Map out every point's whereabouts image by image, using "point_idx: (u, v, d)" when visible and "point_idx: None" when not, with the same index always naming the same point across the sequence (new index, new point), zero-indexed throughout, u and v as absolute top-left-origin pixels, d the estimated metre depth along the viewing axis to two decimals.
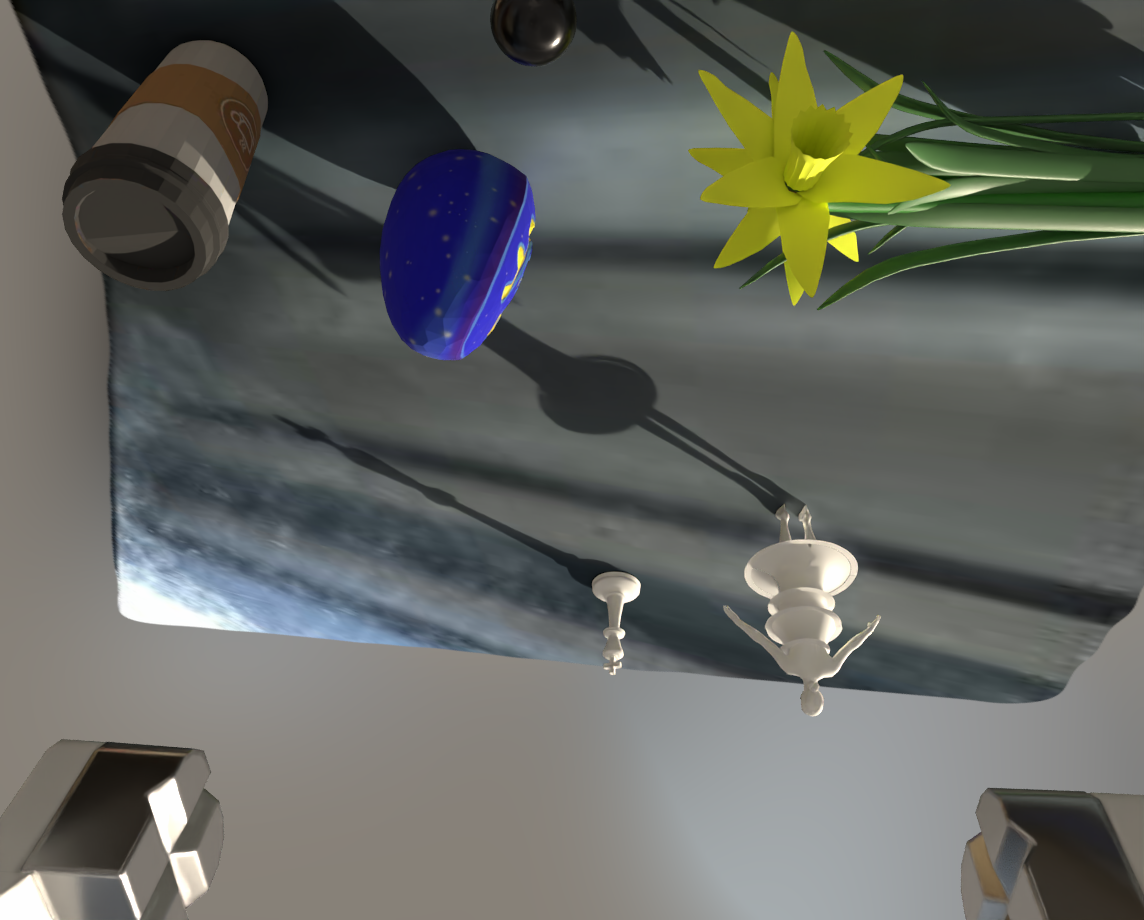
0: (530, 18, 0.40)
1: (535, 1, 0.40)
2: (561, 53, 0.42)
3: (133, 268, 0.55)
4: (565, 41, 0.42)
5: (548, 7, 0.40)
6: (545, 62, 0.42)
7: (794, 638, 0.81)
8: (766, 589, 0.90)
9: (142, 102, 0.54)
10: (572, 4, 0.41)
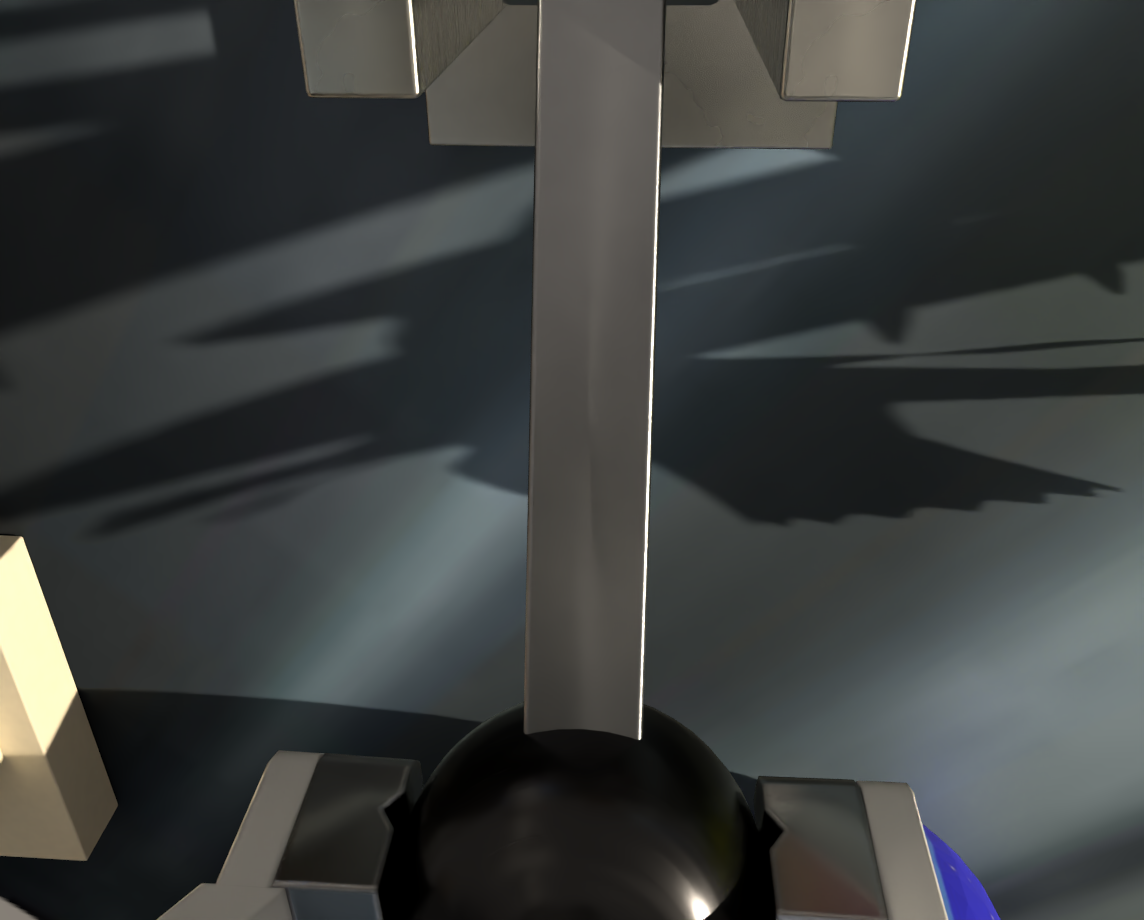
0: None
1: (491, 904, 0.08)
2: None
3: None
4: None
5: (556, 896, 0.08)
6: None
7: None
8: None
9: None
10: (674, 771, 0.09)
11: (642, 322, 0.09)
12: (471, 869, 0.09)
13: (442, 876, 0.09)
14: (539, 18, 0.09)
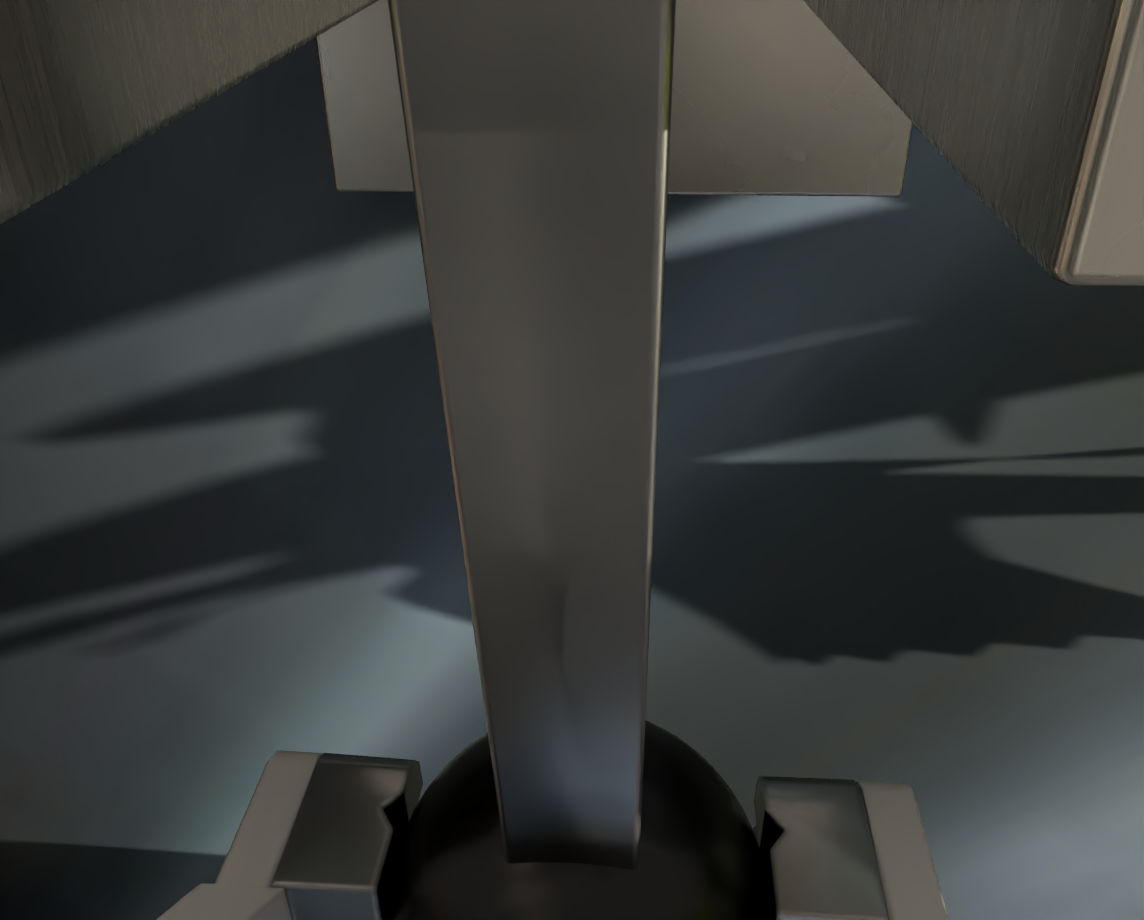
0: None
1: None
2: None
3: None
4: None
5: None
6: None
7: None
8: None
9: None
10: (673, 905, 0.08)
11: (631, 548, 0.06)
12: None
13: None
14: (404, 99, 0.04)
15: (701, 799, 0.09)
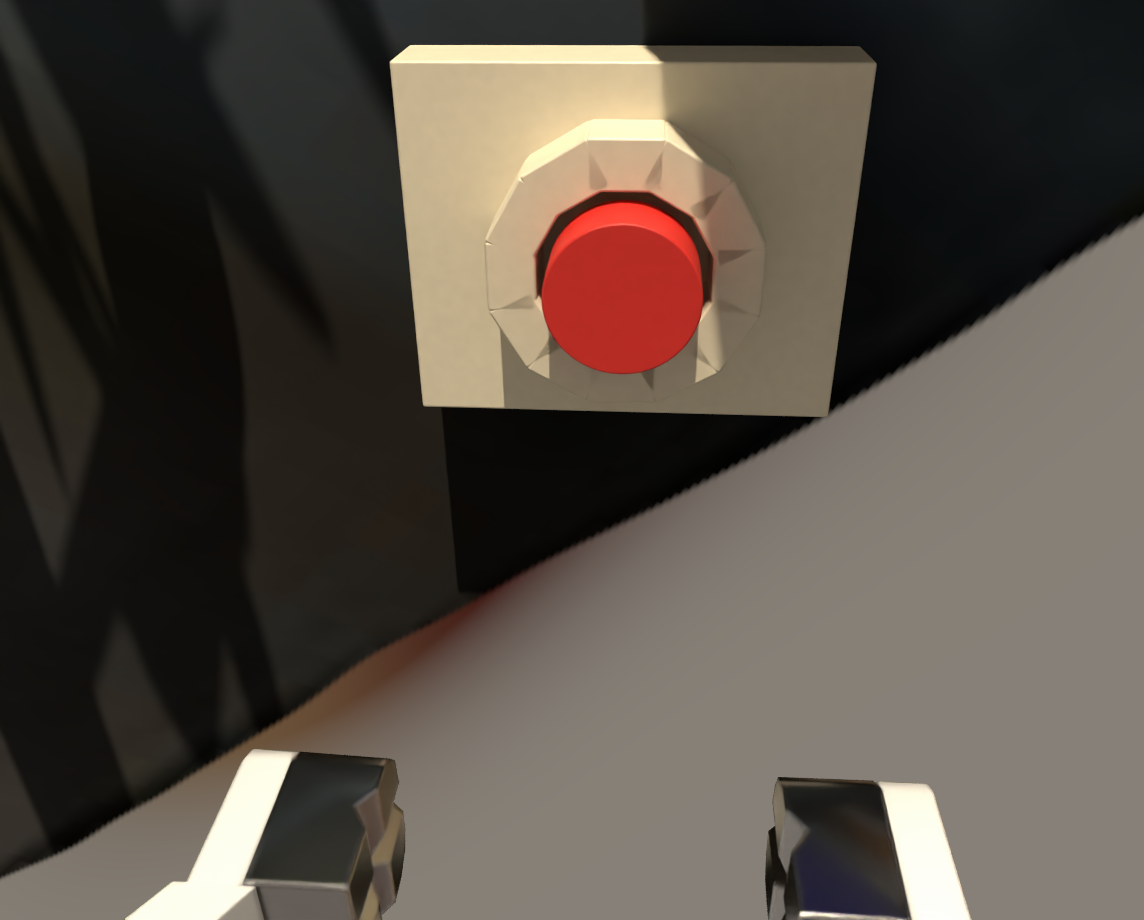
0: None
1: None
2: None
3: None
4: None
5: None
6: None
7: None
8: None
9: None
10: None
11: None
12: None
13: None
14: None
15: None
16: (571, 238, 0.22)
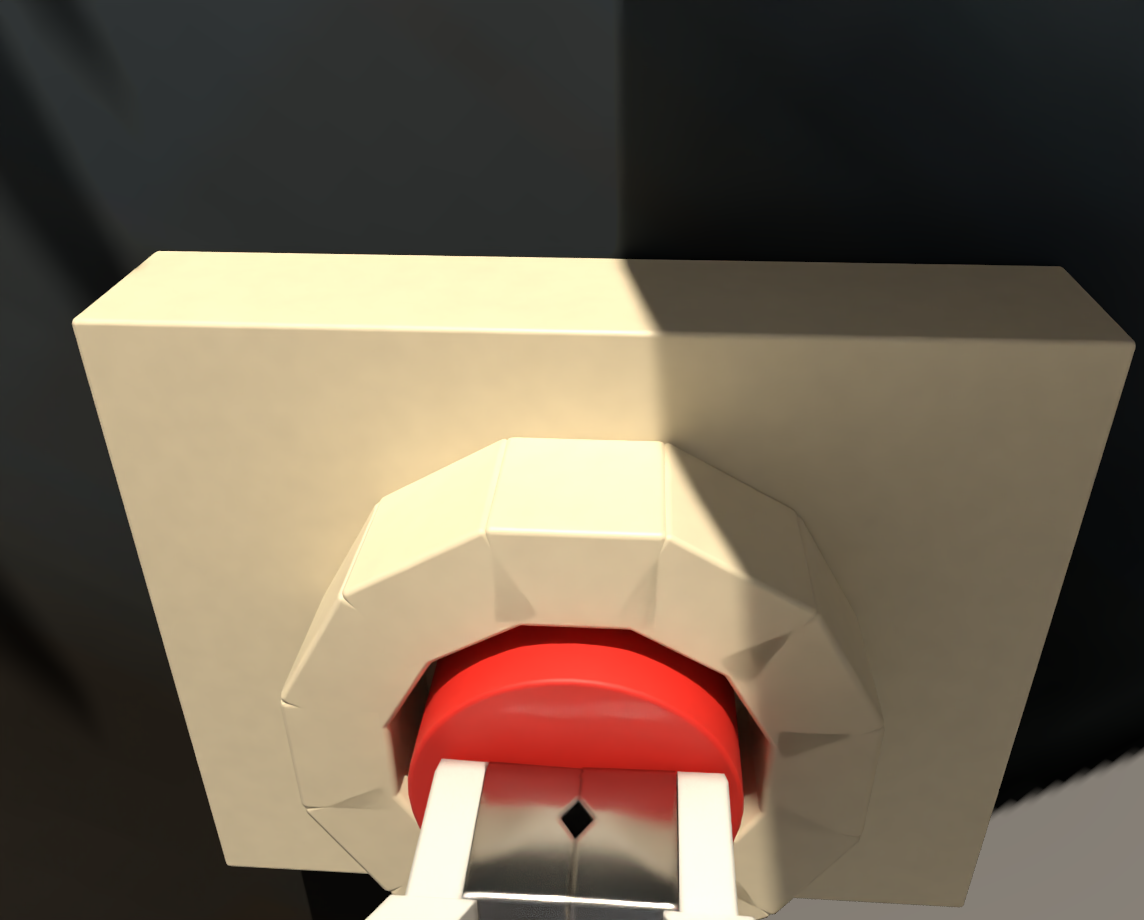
0: None
1: None
2: None
3: None
4: None
5: None
6: None
7: None
8: None
9: None
10: None
11: None
12: None
13: None
14: None
15: None
16: (463, 696, 0.10)
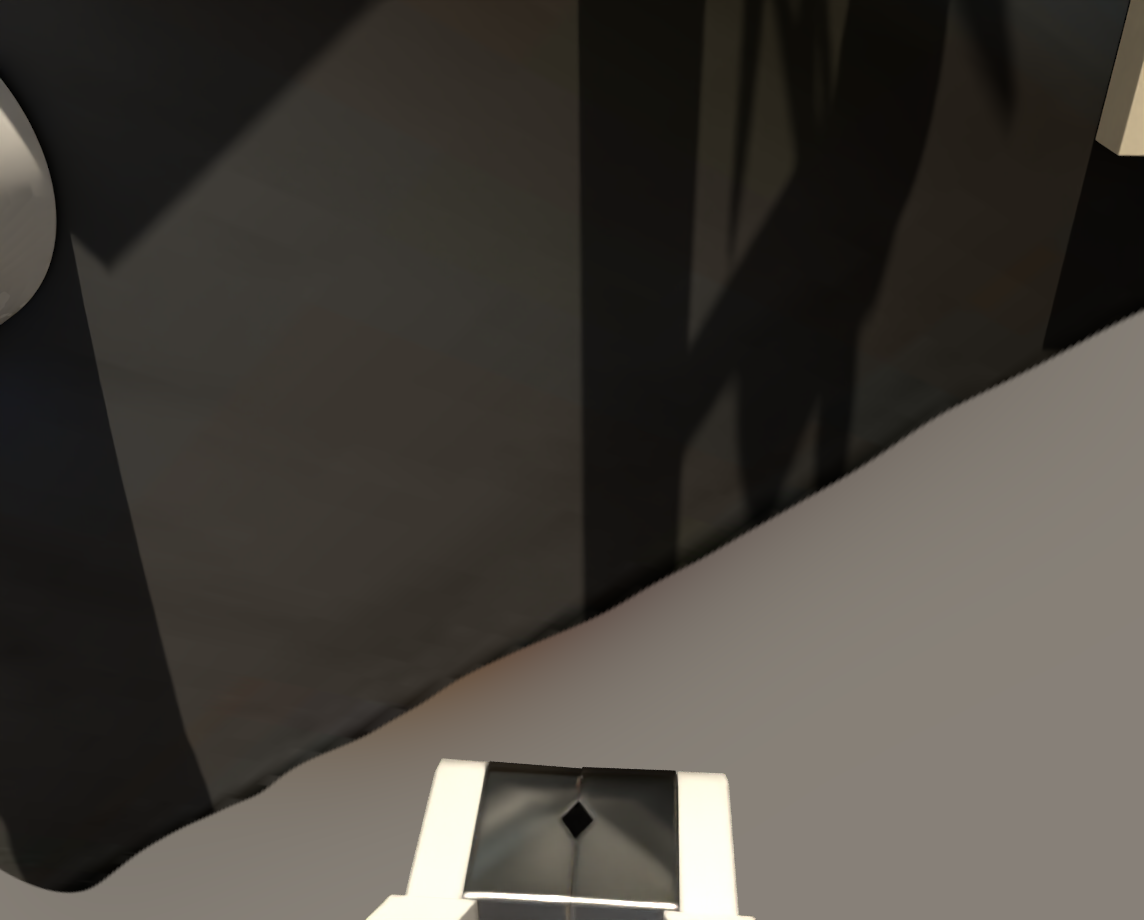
0: None
1: None
2: None
3: None
4: None
5: None
6: None
7: None
8: None
9: None
10: None
11: None
12: None
13: None
14: None
15: None
16: None
